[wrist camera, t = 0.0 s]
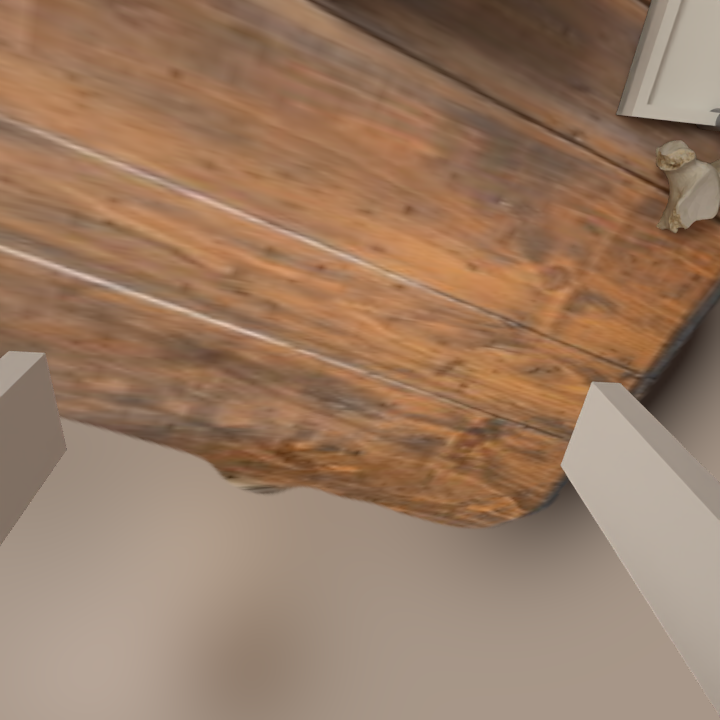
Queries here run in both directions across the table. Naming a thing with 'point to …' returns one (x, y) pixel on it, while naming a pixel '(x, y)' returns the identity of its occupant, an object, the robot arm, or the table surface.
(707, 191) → the bone
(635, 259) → the table surface
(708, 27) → the tray
